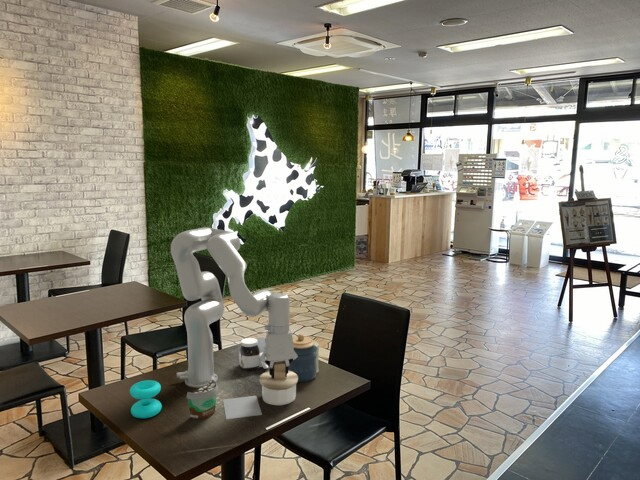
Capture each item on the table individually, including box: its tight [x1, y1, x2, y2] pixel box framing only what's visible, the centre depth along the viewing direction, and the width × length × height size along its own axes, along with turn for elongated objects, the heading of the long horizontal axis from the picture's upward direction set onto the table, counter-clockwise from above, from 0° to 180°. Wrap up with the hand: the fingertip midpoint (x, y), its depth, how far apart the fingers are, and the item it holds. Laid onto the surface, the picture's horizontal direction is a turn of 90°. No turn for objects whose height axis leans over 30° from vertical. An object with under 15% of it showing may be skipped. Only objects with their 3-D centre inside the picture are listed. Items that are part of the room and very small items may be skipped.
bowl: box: [261, 383, 297, 406], centre depth 176 cm, size 12×12×6 cm
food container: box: [186, 380, 219, 420], centre depth 163 cm, size 12×6×10 cm, turn 148°
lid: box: [259, 360, 299, 389], centre depth 174 cm, size 14×14×7 cm
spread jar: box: [238, 337, 269, 371], centre depth 201 cm, size 12×11×12 cm
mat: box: [222, 395, 263, 420], centre depth 168 cm, size 12×14×1 cm
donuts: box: [129, 379, 163, 419], centre depth 164 cm, size 10×10×10 cm
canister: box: [288, 333, 317, 383], centre depth 193 cm, size 13×13×18 cm
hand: (278, 375), depth 175 cm, fingers closed on lid, 4 cm apart
